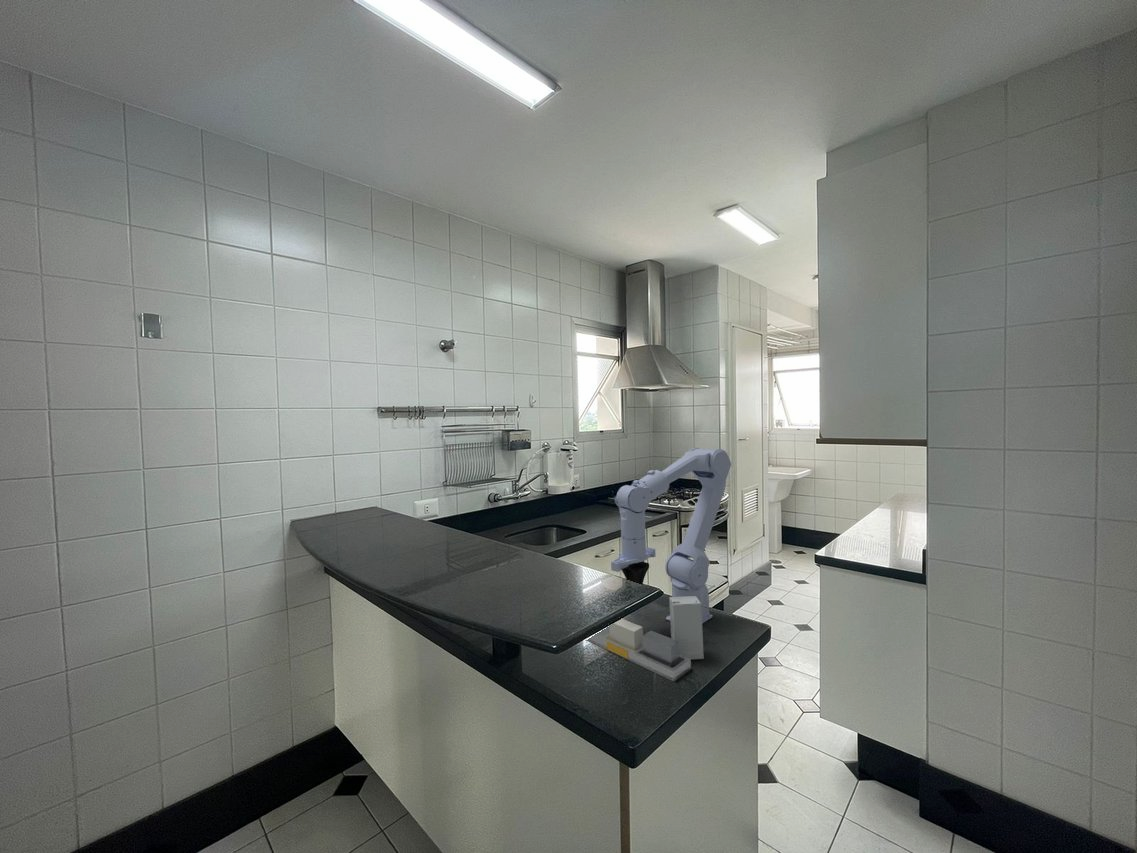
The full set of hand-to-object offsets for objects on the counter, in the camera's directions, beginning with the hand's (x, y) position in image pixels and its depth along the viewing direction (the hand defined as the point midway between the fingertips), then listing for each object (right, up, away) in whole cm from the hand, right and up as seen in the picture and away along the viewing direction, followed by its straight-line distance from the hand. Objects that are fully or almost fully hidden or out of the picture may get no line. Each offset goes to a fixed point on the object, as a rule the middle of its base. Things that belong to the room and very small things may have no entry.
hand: (635, 593), depth 103 cm
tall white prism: (-3, -9, -7) cm, 12 cm away
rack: (-3, -10, -7) cm, 12 cm away
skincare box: (+10, -10, -10) cm, 17 cm away
